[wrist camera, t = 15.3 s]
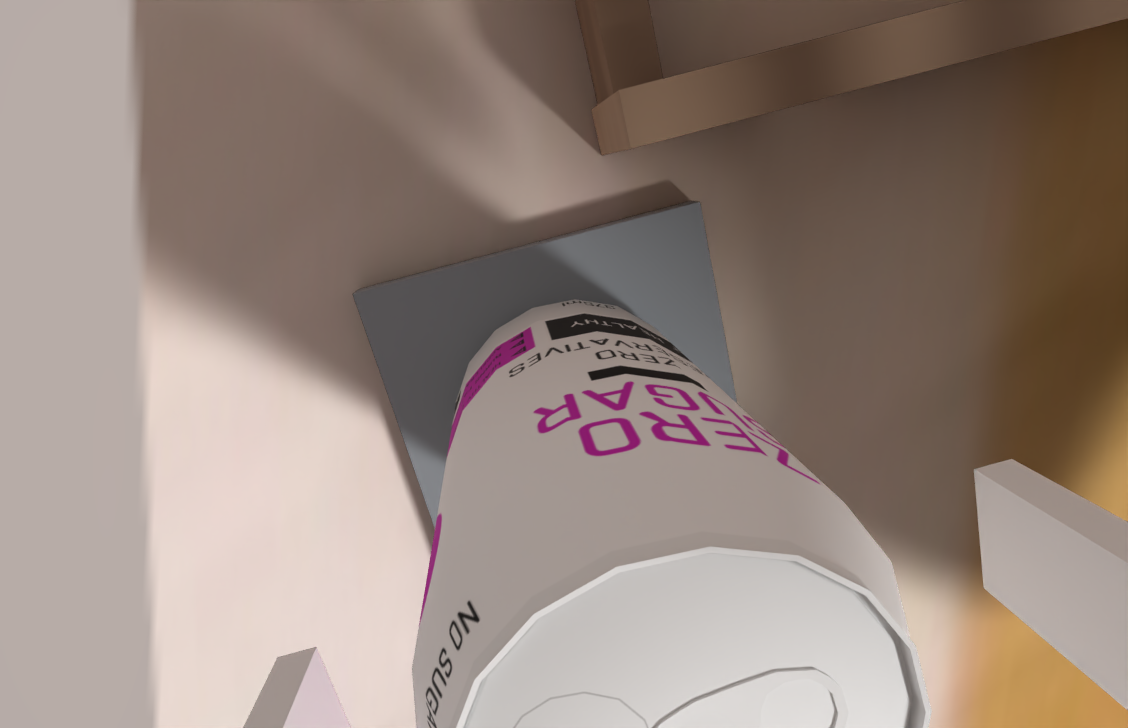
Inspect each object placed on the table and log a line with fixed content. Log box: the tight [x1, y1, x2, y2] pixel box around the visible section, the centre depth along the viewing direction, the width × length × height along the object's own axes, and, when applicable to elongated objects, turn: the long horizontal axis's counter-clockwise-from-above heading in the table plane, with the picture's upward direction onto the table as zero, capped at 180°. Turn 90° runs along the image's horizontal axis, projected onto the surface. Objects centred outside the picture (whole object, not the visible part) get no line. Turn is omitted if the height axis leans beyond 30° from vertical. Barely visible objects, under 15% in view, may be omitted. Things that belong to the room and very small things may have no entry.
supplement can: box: [412, 299, 932, 728], centre depth 16 cm, size 8×8×15 cm
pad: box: [353, 201, 737, 528], centre depth 24 cm, size 12×12×1 cm
